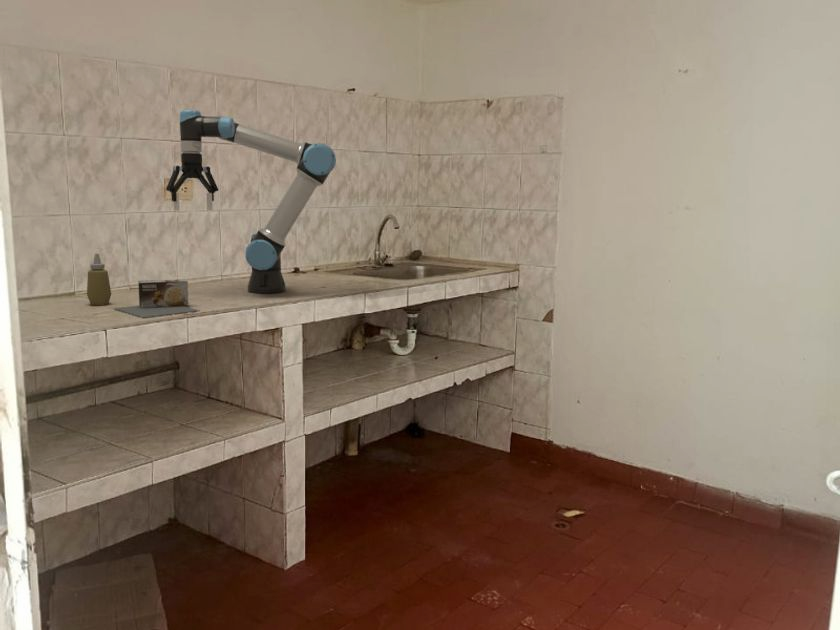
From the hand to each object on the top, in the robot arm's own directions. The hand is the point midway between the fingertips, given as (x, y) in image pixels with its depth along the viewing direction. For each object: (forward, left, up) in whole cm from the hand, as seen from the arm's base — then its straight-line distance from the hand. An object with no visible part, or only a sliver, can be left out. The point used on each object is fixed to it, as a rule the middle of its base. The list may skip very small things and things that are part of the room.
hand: (193, 210), depth 282 cm
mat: (+26, +21, -33) cm, 47 cm away
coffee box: (+14, +19, -28) cm, 37 cm away
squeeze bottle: (+36, -3, -33) cm, 49 cm away
